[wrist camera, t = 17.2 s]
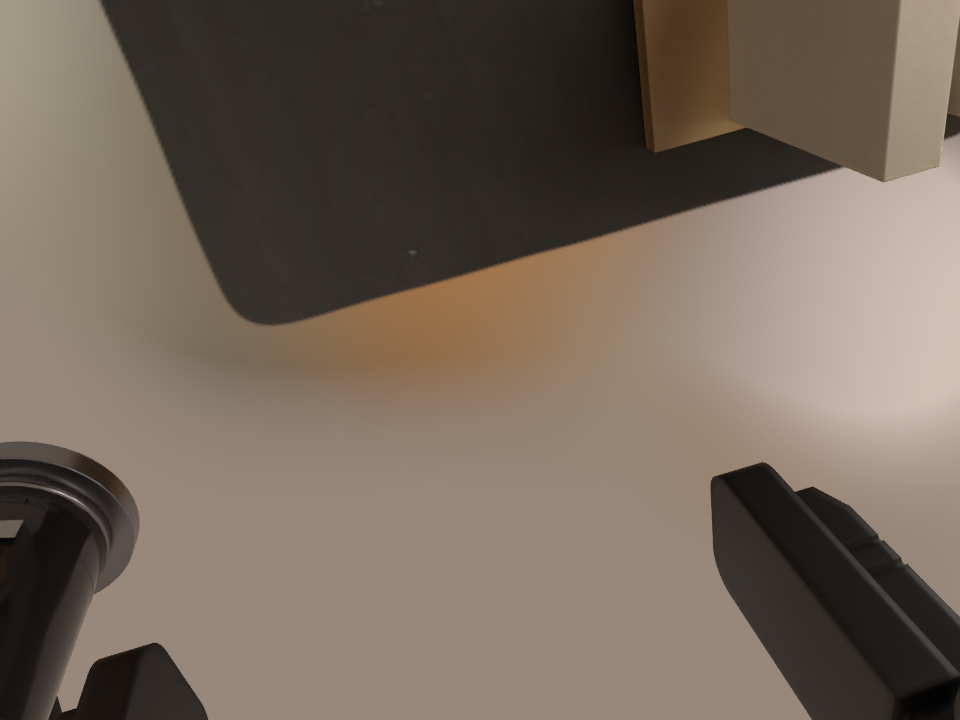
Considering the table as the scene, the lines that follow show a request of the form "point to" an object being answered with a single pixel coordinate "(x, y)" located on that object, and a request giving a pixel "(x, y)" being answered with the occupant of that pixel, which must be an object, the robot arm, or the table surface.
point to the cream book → (846, 78)
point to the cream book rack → (697, 71)
